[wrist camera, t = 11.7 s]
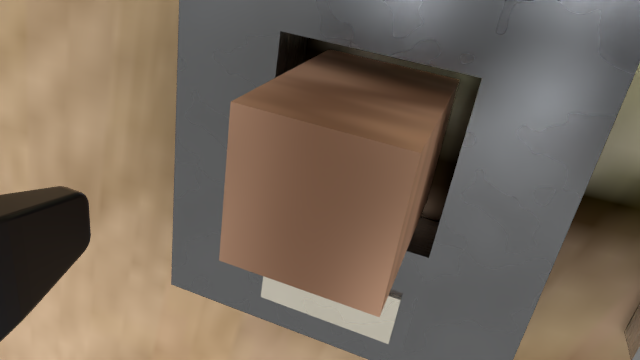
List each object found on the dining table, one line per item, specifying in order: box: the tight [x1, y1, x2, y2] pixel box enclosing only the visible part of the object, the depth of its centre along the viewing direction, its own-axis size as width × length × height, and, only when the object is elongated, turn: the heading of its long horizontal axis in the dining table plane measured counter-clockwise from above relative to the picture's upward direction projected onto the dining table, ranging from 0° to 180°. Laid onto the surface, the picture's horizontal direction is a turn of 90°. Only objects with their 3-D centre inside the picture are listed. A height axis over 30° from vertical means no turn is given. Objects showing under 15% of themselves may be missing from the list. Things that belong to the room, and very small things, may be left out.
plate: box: [171, 0, 640, 360], centre depth 18 cm, size 13×16×3 cm
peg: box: [219, 49, 459, 317], centre depth 16 cm, size 4×4×7 cm
